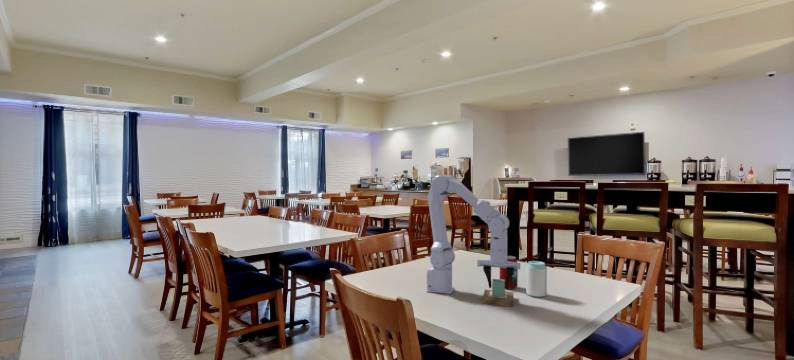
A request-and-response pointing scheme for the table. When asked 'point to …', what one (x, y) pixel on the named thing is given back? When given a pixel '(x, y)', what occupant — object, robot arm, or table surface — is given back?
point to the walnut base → (498, 298)
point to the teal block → (498, 287)
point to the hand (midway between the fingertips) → (498, 288)
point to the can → (536, 279)
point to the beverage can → (514, 276)
